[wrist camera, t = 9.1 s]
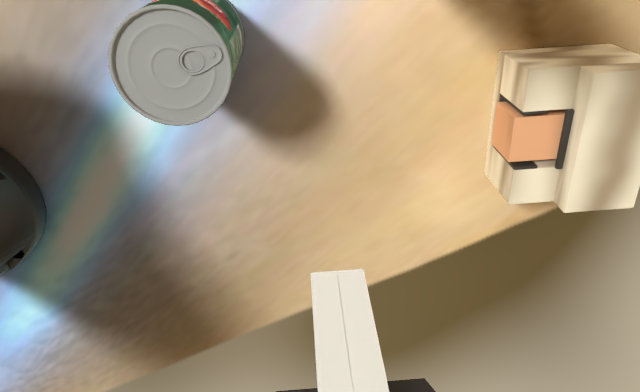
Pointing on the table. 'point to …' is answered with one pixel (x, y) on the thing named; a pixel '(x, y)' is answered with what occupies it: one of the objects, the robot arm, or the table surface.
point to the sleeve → (573, 126)
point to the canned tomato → (177, 58)
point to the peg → (527, 133)
